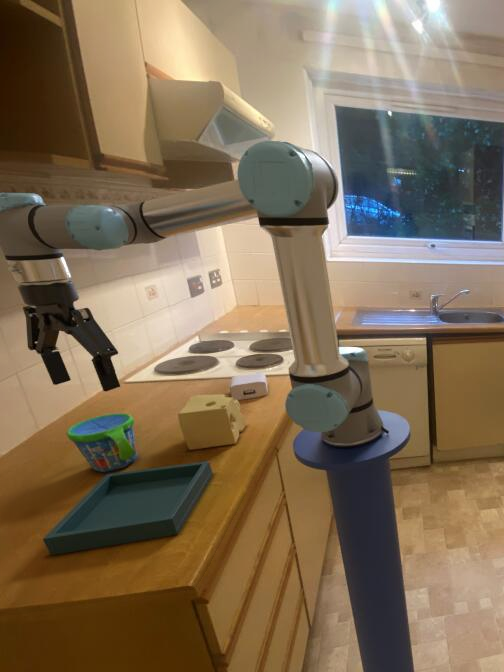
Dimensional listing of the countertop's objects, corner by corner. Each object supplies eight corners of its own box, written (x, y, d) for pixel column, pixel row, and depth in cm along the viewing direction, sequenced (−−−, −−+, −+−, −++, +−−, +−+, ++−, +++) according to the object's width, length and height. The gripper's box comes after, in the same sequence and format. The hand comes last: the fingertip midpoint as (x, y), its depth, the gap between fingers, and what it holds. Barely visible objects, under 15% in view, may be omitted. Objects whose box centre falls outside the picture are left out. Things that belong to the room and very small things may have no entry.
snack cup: (73, 464, 96) (55, 423, 92) (131, 444, 104) (116, 406, 101) (98, 487, 88) (80, 444, 85) (159, 463, 97) (144, 423, 93)
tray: (213, 474, 93) (209, 460, 92) (177, 534, 76) (171, 518, 75) (112, 488, 88) (106, 474, 87) (51, 555, 71) (42, 539, 70)
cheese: (246, 425, 114) (237, 390, 110) (236, 445, 104) (226, 408, 100) (201, 431, 111) (190, 395, 107) (186, 452, 101) (173, 414, 97)
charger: (267, 379, 144) (268, 395, 132) (235, 383, 140) (232, 401, 128) (264, 365, 142) (264, 380, 130) (231, 370, 138) (229, 386, 126)
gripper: (-29, 282, 81) (20, 386, 89) (72, 288, 76) (114, 399, 84) (22, 276, 88) (62, 373, 96) (117, 281, 82) (152, 384, 90)
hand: (86, 385), depth 90 cm, fingers open, 13 cm apart
